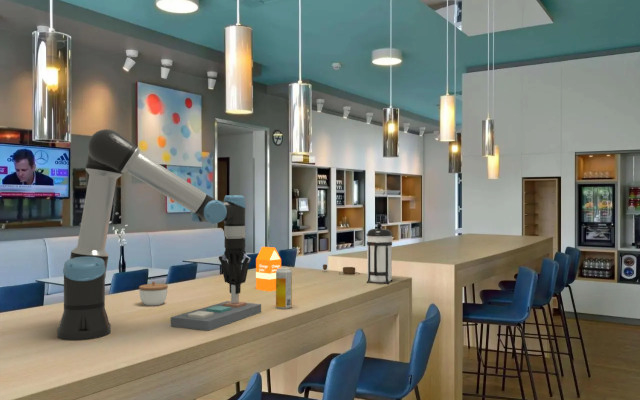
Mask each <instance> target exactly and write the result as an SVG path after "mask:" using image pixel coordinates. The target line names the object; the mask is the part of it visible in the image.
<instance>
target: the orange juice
mask: <svg viewBox="0 0 640 400" xmlns="http://www.w3.org/2000/svg"><path fill="white" fill-rule="evenodd" d="M277 250H278V249H276V247H274V246H273V247H270V246H261V248H260V249H259V253H258V254H257V256H256V258H255V270H256V271H255V289H256V290H259V291H265V292H274V291H275V292H276V271H277V269H278V268H282V258H281V256H280V254H279V253H278V251H277Z"/></svg>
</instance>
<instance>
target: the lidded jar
mask: <svg viewBox="0 0 640 400" xmlns="http://www.w3.org/2000/svg"><path fill="white" fill-rule="evenodd" d="M168 287H169V286H168V284H165V283H156V281H151V283H147V284H142V285H139V286H138V289H139V298H140V301H141V302H142V304H143V305H144V306H147V307H152V306H153V307H154V306H155V307H156V306H161V305H163V304H164V303H165V301H166V299H167V298H168V297H167V296H168Z"/></svg>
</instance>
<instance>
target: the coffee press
mask: <svg viewBox="0 0 640 400" xmlns="http://www.w3.org/2000/svg"><path fill="white" fill-rule="evenodd" d="M382 225H383V224H382V223H377V225H376V226H377V228H370V229H369V230H368V231H367V233H366V237H367V240H366V245H367V246H366V247H367V248H366V251H367V256H366V258H367V261H366V262H367V263H366V264H367V265H366V266H367V268H366V269H367V272H366V273H367V281H366V284H369V283H370V284H372V283H382V284H385V283H387V284H386V285H390V282H393V278H392V274H393V273H392V269H393V266H392V265H393V264H392V258H393V257H392V254H393V252H392V250H393V249H392V246H393V241H392V239H393V238H392V237H393V233H392V231H391V230H389V229H387V228H382Z"/></svg>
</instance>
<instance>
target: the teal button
mask: <svg viewBox="0 0 640 400" xmlns="http://www.w3.org/2000/svg"><path fill="white" fill-rule="evenodd" d="M228 310H231V307H224V306H214V307H211V308H207V309H206V311H208V312H218V313H222V312H225V311H228Z"/></svg>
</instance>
